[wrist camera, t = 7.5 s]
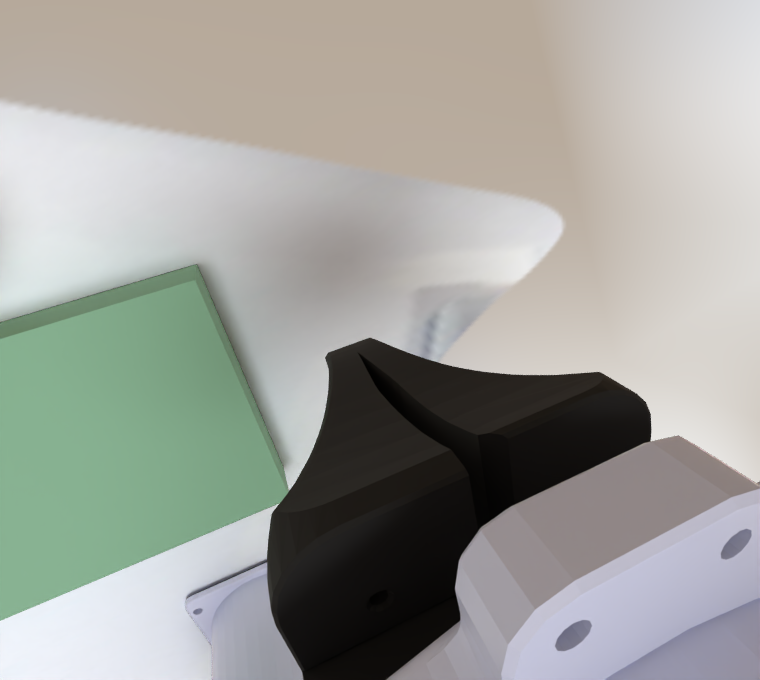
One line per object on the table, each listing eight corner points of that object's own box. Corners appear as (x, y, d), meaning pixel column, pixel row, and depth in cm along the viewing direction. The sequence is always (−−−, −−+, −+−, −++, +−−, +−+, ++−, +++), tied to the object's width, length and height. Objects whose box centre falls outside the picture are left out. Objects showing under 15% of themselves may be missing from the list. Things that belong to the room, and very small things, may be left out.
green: (283, 467, 25) (290, 498, 23) (-133, 635, 21) (-173, 693, 18) (196, 264, 19) (195, 279, 17) (-396, 440, 15) (-498, 490, 13)
